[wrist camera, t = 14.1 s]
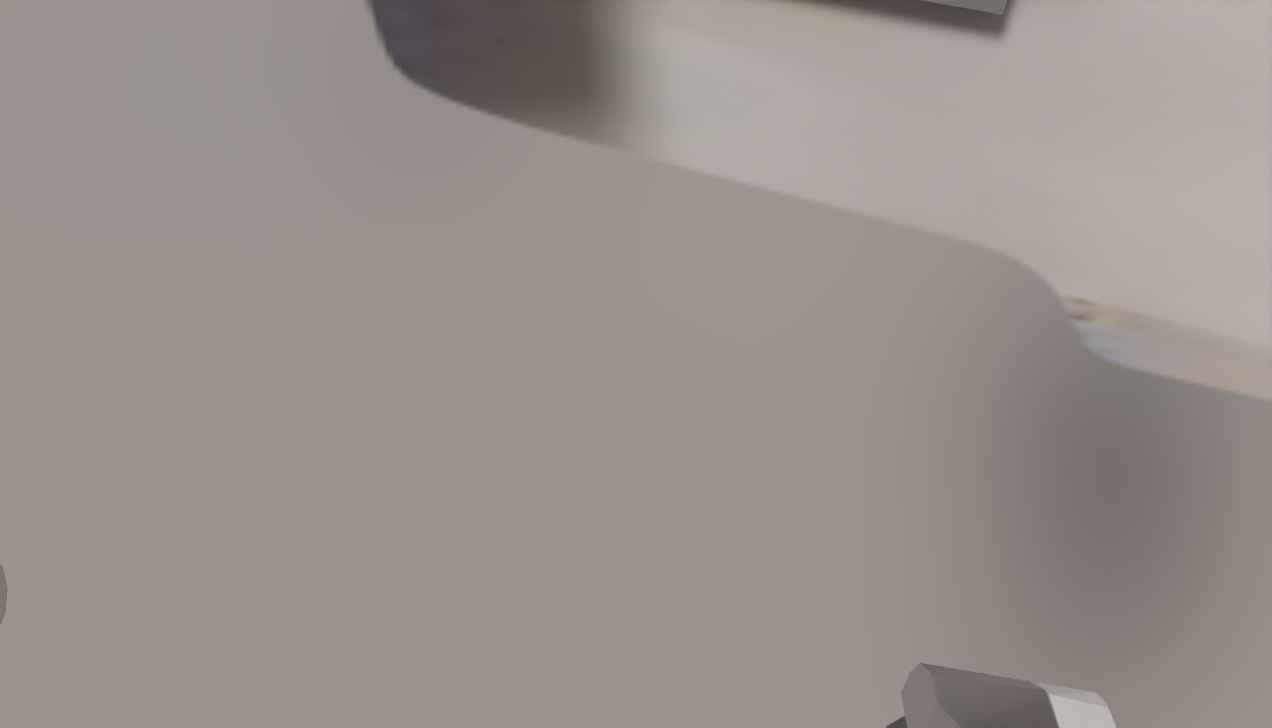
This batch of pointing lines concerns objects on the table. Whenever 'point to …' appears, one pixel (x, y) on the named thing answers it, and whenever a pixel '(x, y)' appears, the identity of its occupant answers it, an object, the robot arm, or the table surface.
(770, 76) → the table surface
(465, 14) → the table surface
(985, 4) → the strip
